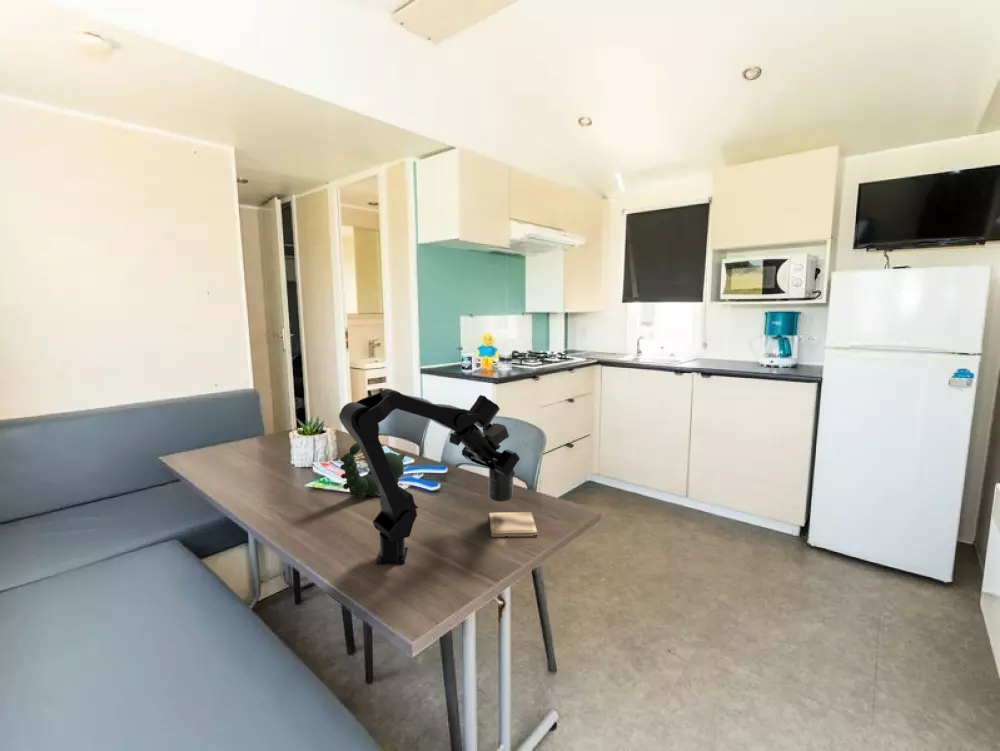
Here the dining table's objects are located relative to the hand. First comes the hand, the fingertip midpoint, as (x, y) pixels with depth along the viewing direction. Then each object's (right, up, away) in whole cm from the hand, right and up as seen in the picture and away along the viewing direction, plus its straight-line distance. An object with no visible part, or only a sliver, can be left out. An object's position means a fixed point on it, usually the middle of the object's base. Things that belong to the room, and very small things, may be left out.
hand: (505, 471), depth 132 cm
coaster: (+2, -14, -4) cm, 15 cm away
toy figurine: (-41, -10, +18) cm, 46 cm away
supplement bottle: (-1, -7, 0) cm, 8 cm away
